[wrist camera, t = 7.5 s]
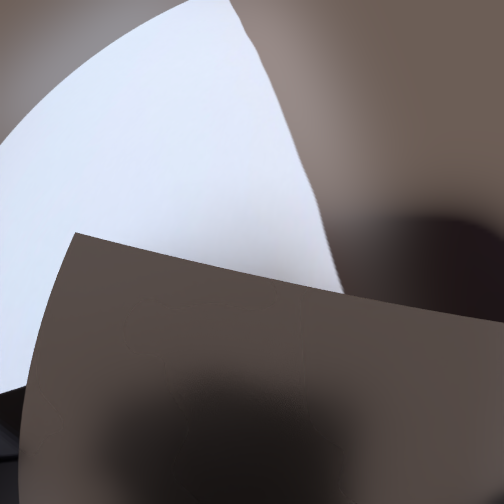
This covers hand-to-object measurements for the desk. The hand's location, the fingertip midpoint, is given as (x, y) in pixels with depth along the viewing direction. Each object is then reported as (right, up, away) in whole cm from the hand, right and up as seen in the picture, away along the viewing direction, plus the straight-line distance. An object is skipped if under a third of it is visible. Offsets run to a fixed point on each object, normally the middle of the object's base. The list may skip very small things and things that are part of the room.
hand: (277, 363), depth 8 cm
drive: (-1, -4, +5) cm, 7 cm away
